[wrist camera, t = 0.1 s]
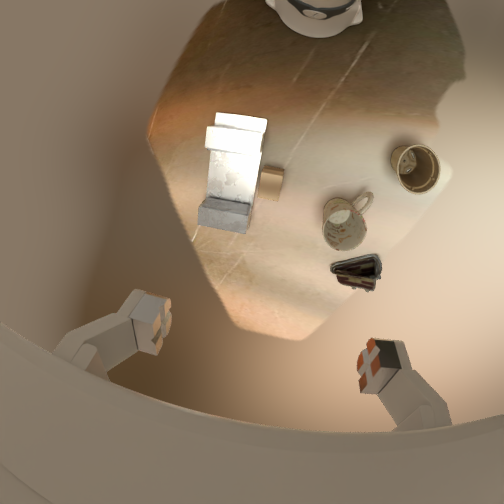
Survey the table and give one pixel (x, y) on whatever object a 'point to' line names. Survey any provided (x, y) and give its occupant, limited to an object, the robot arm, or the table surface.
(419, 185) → the flower pot
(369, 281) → the chocolate cake
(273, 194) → the block
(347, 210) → the mug
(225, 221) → the block
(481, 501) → the robot arm
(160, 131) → the table surface
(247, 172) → the vise base
